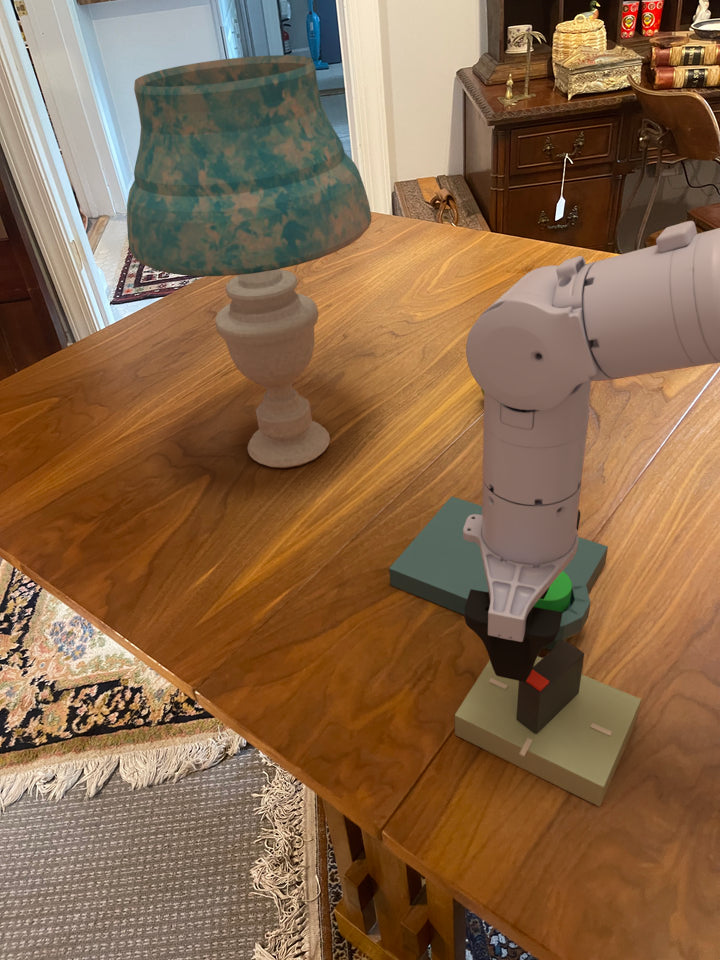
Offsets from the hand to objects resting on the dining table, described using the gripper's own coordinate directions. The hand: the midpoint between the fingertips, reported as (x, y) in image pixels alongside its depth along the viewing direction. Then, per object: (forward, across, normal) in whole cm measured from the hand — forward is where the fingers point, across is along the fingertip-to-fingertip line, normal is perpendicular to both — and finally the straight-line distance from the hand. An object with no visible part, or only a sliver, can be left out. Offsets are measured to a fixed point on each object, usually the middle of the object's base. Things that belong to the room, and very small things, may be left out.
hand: (521, 632), depth 51 cm
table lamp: (+9, -29, -32) cm, 44 cm away
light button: (+5, -8, +1) cm, 10 cm away
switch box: (+8, -13, -4) cm, 16 cm away
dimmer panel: (+8, +1, +2) cm, 9 cm away
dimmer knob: (+6, +1, +2) cm, 6 cm away
